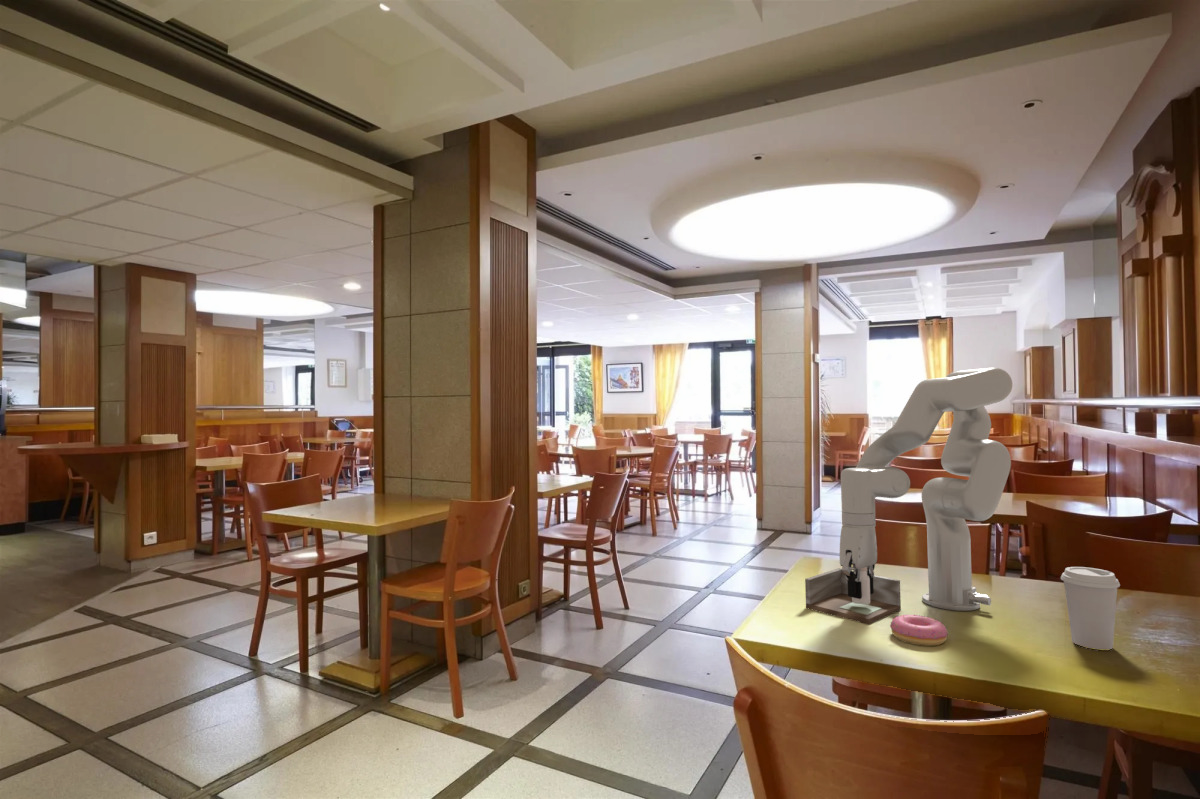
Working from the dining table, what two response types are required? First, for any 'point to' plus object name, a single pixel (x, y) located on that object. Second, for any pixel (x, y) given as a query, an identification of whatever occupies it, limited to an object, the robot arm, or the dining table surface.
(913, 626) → the doughnut
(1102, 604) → the coffee cup
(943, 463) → the robot arm
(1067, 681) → the dining table surface
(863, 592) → the salt shaker
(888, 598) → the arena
